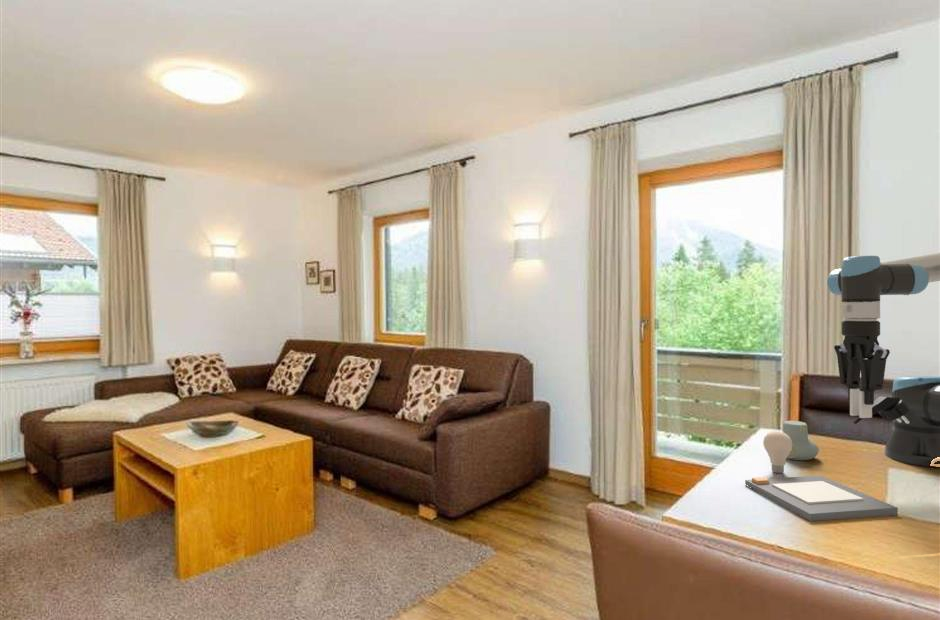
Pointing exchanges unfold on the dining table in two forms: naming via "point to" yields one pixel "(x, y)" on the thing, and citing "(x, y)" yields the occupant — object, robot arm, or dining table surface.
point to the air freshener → (800, 441)
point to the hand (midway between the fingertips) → (860, 416)
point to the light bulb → (777, 449)
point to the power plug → (889, 409)
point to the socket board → (820, 498)
